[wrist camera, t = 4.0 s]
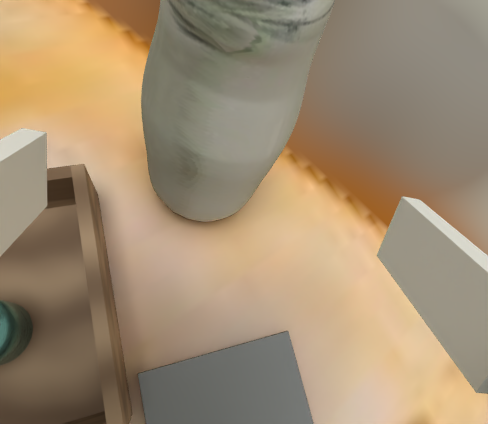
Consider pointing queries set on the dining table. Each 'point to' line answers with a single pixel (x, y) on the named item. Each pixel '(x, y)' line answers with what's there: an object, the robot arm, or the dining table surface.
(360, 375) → the dining table surface
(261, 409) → the grey mat
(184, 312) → the dining table surface
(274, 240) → the dining table surface
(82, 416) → the walnut crate
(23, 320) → the teal tin
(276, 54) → the grey vase
